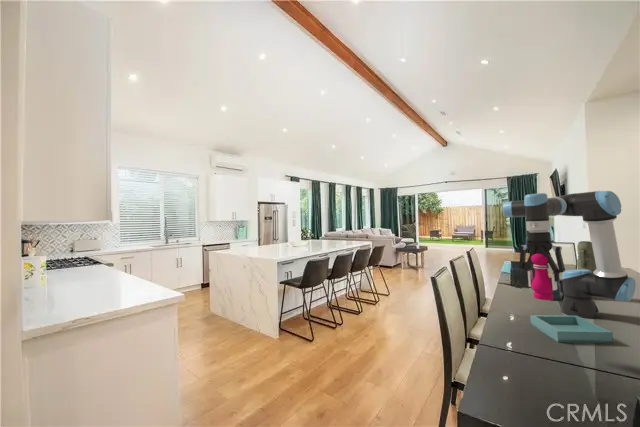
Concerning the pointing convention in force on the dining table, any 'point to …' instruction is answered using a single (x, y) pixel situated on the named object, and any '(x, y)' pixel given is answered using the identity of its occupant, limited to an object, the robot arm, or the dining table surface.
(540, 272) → the pepper mill
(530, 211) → the robot arm
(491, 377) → the dining table surface
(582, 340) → the tray
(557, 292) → the canister
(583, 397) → the dining table surface
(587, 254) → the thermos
